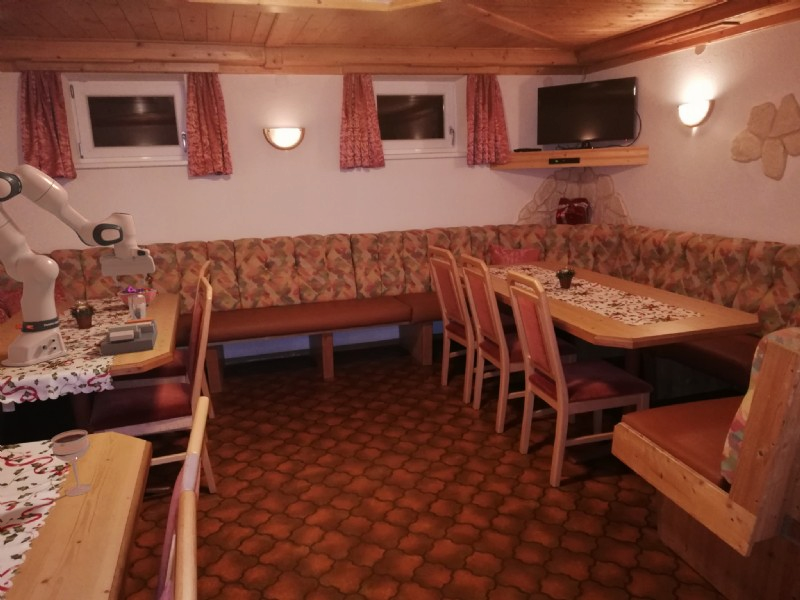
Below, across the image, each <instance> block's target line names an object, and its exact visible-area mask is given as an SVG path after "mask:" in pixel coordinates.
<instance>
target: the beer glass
mask: <svg viewBox="0 0 800 600" xmlns="http://www.w3.org/2000/svg"><path fill="white" fill-rule="evenodd" d="M128 303H129V306H128V309H129V313H130V317H131V320H134V319H144V318H147V305H146V302H145V297H144V295H133V296H129V297H128Z"/></svg>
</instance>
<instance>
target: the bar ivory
mask: <svg viewBox="0 0 800 600" xmlns="http://www.w3.org/2000/svg"><path fill="white" fill-rule="evenodd" d="M133 324H134V323H133ZM143 326H152V324H151V322H142V323H137V327H143Z"/></svg>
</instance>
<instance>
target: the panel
mask: <svg viewBox="0 0 800 600" xmlns="http://www.w3.org/2000/svg"><path fill="white" fill-rule="evenodd" d="M156 321H157V320H156V318H153V321H152V322H151V324H152V326H143V327H138V331H137V332H134V337H133V339H124V340H116V341H110V335H109V332H107V333H106V335H105V338H104V340H103V341H102V342H101V344H100V350H101V351H100V353H101V356H102V357H103V356H111V355H119V354H121V355H122V354H129V353H137V352H145V351H152V350H154V349H155V345H156V344H155V343H156V341H157V337H158V333H159V332H158V326H157V322H156ZM125 324H126V321H124V323H123V325H125Z"/></svg>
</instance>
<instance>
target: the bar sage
mask: <svg viewBox="0 0 800 600" xmlns="http://www.w3.org/2000/svg"><path fill="white" fill-rule="evenodd" d="M107 330H108V332H109V335H110V333H112V332H120V331H129V330H133V332H137V331H138V327H137V323H134V324H125V325H124V324H119V325H117V324H116V325H109V326H108V327H107ZM108 332H107V333H108Z"/></svg>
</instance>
